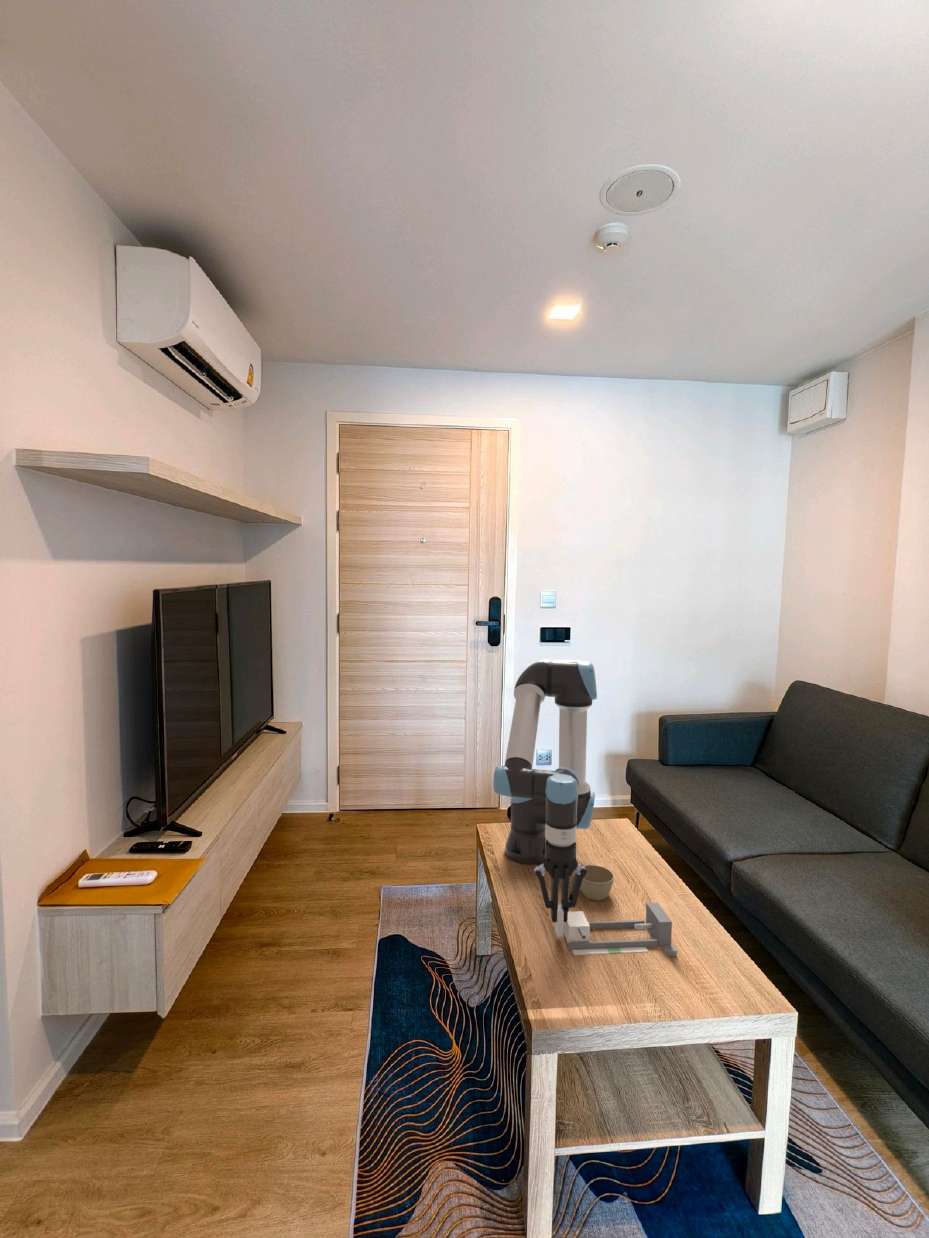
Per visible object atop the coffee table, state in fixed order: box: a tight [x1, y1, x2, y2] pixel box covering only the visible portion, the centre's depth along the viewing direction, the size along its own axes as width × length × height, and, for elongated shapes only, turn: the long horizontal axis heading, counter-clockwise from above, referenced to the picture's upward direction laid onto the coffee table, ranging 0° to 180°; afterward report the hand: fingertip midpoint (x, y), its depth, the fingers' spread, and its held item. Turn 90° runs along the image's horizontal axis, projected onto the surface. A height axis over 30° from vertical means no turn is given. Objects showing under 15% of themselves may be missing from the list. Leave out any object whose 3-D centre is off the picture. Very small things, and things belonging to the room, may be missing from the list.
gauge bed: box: [566, 902, 678, 957], centre depth 135 cm, size 12×28×7 cm, turn 94°
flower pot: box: [580, 864, 615, 901], centre depth 154 cm, size 10×10×7 cm
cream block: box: [563, 910, 591, 944], centre depth 133 cm, size 10×5×5 cm, turn 4°
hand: (558, 933), depth 134 cm, fingers closed
